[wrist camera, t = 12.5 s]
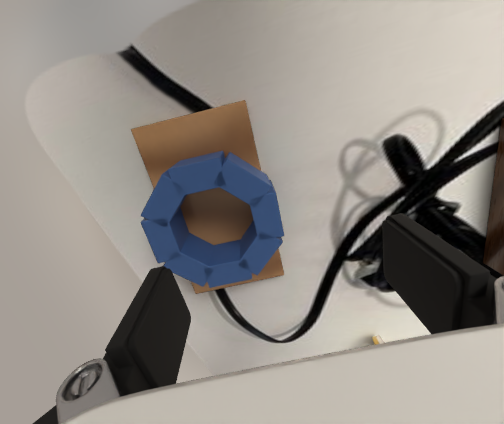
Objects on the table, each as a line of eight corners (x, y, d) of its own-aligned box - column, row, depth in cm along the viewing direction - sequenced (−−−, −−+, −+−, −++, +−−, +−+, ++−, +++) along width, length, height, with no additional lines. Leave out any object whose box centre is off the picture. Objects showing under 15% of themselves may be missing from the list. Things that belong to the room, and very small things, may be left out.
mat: (132, 129, 19) (130, 129, 19) (245, 100, 19) (245, 99, 18) (196, 290, 25) (195, 294, 25) (283, 272, 25) (284, 275, 24)
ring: (141, 169, 20) (122, 180, 17) (262, 141, 20) (266, 146, 16) (181, 271, 24) (171, 296, 20) (284, 249, 23) (291, 271, 20)
